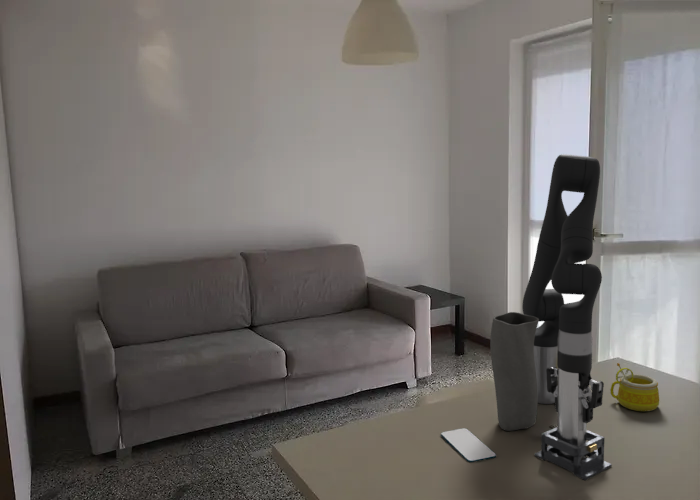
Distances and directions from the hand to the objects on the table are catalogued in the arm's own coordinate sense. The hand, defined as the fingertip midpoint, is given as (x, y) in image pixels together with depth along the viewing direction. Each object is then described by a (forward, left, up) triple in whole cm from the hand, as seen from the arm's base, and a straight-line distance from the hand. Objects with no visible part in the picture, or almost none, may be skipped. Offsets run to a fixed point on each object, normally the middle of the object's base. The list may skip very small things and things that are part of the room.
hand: (573, 416), depth 140 cm
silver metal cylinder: (0, 0, -11) cm, 11 cm away
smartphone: (-21, -14, -12) cm, 28 cm away
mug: (-9, +41, -12) cm, 44 cm away
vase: (-21, +4, -11) cm, 24 cm away
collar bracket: (0, 0, -11) cm, 11 cm away
